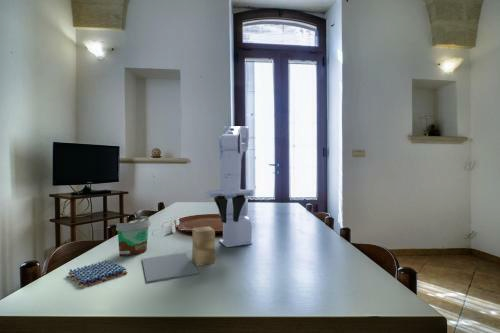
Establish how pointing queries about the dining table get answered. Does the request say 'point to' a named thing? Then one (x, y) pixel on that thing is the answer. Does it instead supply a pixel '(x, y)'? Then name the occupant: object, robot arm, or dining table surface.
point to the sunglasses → (172, 225)
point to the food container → (133, 236)
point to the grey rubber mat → (168, 267)
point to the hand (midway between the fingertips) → (229, 221)
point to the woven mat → (96, 273)
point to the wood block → (203, 245)
